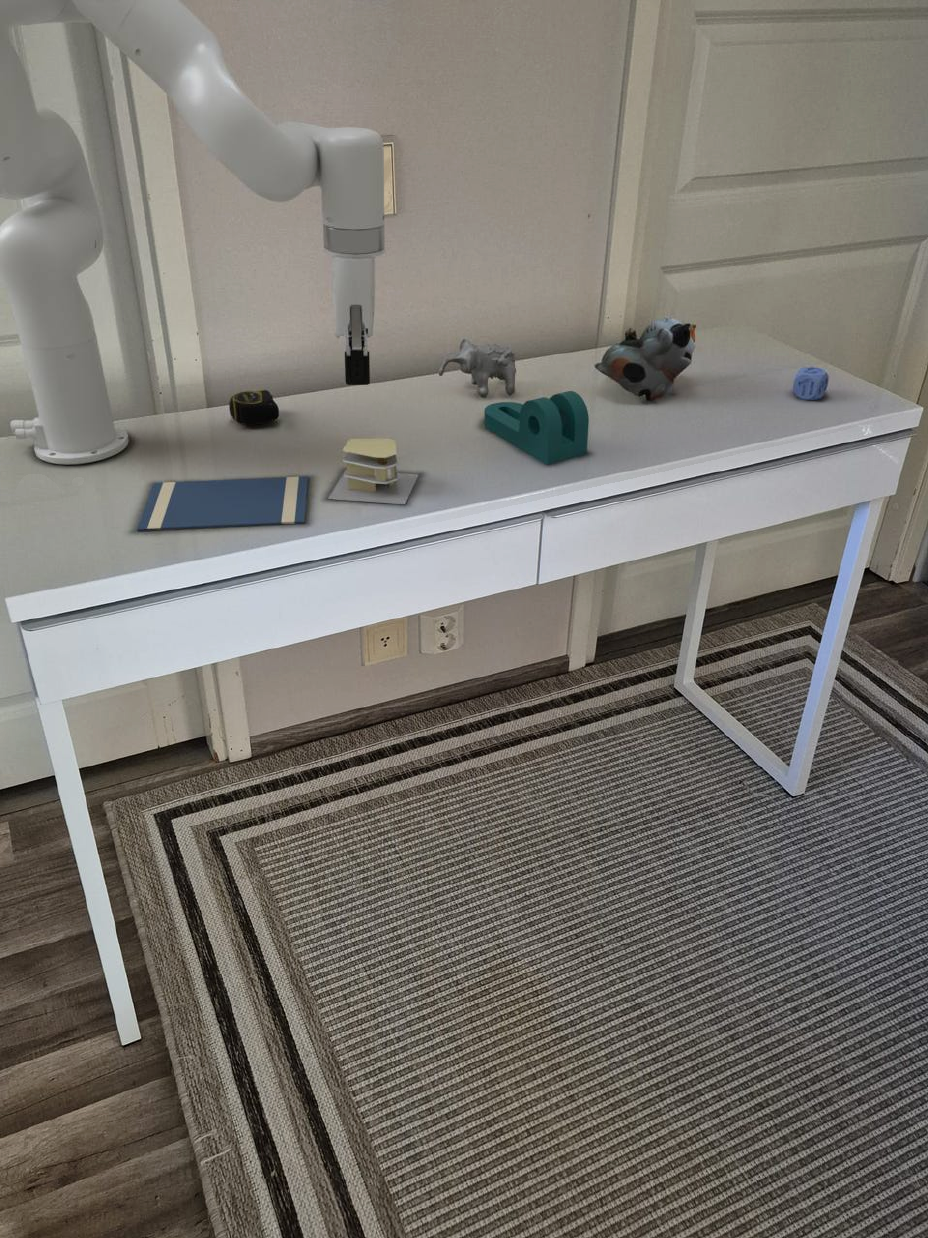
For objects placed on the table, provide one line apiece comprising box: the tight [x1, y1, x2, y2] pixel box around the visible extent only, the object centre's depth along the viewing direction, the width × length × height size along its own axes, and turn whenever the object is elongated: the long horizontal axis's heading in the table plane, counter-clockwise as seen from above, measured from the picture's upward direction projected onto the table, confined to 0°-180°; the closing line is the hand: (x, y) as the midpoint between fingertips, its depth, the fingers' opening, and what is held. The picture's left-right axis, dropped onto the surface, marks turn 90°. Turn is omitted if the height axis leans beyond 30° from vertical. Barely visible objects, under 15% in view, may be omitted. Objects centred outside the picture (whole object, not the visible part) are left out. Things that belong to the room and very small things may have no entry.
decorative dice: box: [792, 366, 830, 401], centre depth 160 cm, size 4×4×4 cm
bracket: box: [483, 390, 590, 465], centre depth 145 cm, size 18×7×8 cm, turn 32°
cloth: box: [136, 475, 309, 532], centre depth 130 cm, size 20×13×1 cm, turn 95°
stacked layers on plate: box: [327, 438, 419, 505], centre depth 132 cm, size 10×9×6 cm
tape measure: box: [228, 389, 280, 426], centre depth 152 cm, size 7×7×4 cm
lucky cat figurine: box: [594, 317, 697, 402], centre depth 160 cm, size 15×12×14 cm
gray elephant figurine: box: [438, 338, 517, 398], centre depth 161 cm, size 9×12×8 cm
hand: (357, 382), depth 136 cm, fingers closed
